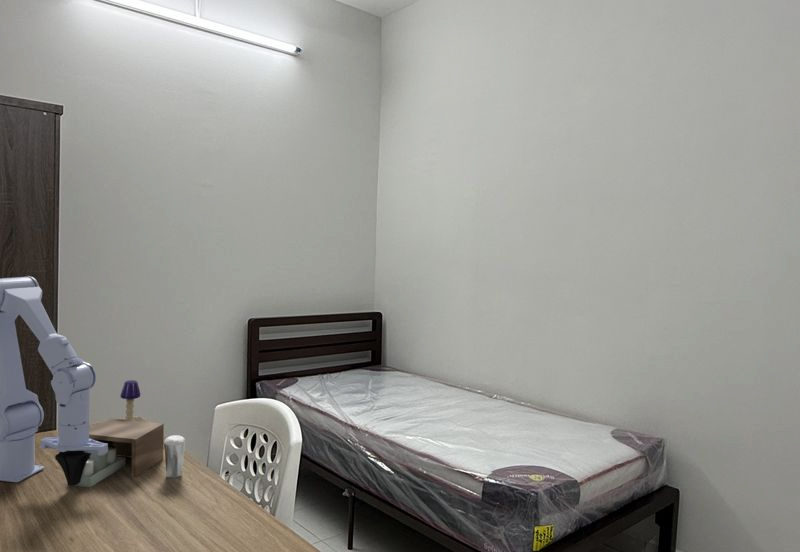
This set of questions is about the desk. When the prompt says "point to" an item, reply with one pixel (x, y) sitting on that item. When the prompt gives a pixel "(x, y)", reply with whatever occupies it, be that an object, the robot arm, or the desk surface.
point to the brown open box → (132, 441)
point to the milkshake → (174, 455)
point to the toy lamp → (130, 396)
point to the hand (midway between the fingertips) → (74, 483)
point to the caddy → (100, 467)
